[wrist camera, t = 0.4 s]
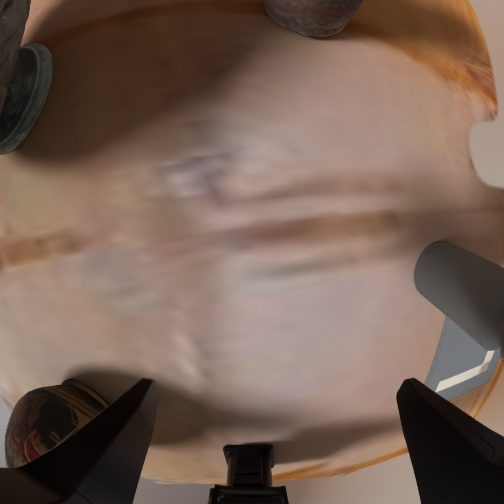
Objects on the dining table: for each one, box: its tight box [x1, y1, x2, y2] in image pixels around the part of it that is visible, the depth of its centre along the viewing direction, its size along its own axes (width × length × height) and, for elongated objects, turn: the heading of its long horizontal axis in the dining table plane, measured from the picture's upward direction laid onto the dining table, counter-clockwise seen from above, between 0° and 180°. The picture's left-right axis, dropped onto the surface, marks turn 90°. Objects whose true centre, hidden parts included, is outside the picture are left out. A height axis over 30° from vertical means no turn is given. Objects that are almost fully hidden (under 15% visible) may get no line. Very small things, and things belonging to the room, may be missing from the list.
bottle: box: [414, 241, 504, 360], centre depth 15 cm, size 6×6×15 cm
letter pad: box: [425, 316, 501, 401], centre depth 25 cm, size 16×16×1 cm
